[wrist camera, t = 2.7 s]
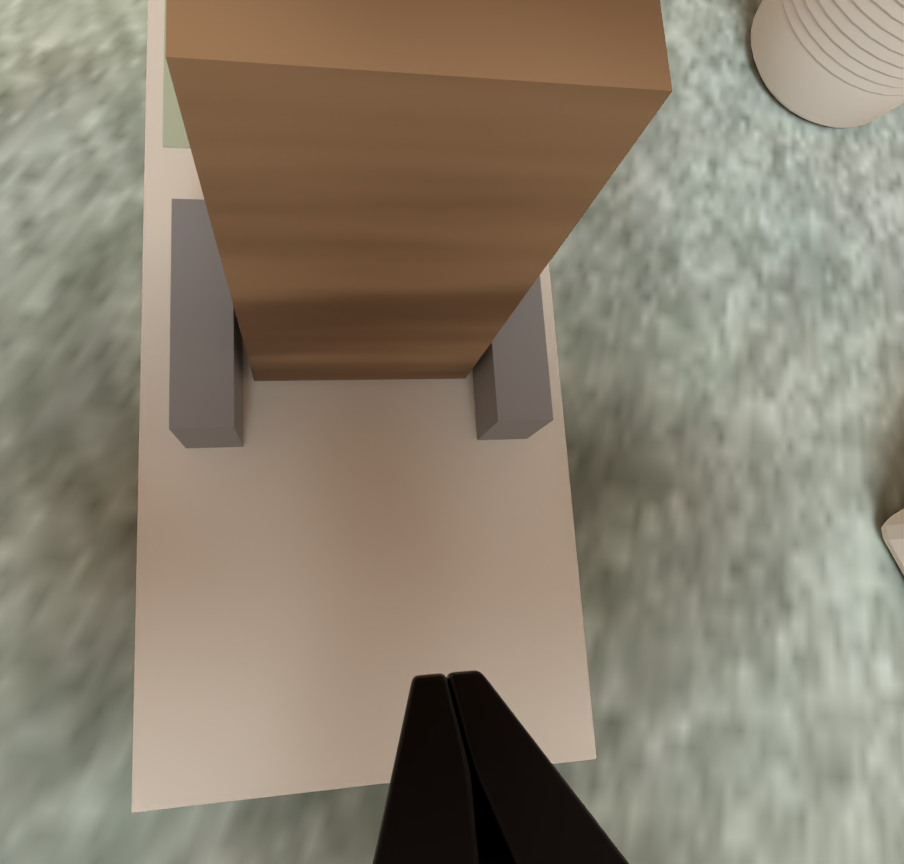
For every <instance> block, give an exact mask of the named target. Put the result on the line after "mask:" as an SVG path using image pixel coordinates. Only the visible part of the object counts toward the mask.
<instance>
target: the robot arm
mask: <svg viewBox="0 0 904 864" xmlns="http://www.w3.org/2000/svg"><path fill="white" fill-rule="evenodd" d="M373 864H629V863H628V862H627V860H626V859H625V858H624V856H623V855H622V854H621V853H620V851H619V850H618V849H617V847H616V846H615V845H614V843H613V842H612V841H611V840H610V838H609V837H608V836H607V834H606V833H605V832H604V830H603V829H602V828H601V827H600V825H599V824H598V823H597V821H596V820H595V819H594V817H593V816H592V815H591V814H590V812H589V811H588V810H587V808H586V807H585V806H584V804H583V803H582V802H581V801H580V799H579V798H578V797H577V795H576V794H575V793H574V791H573V790H572V789H571V788H570V786H569V785H568V784H567V782H566V781H565V780H564V778H563V777H562V776H561V775H560V773H559V772H558V771H557V769H556V768H555V767H554V765H553V764H552V763H551V762H550V760H549V759H548V758H547V756H546V755H545V754H544V752H543V751H542V750H541V749H540V747H539V746H538V745H537V743H536V742H535V741H534V739H533V738H532V737H531V736H530V734H529V733H528V732H527V730H526V729H525V728H524V726H523V725H522V724H521V723H520V721H519V720H518V719H517V717H516V716H515V715H514V713H513V712H512V711H511V710H510V708H509V707H508V706H507V704H506V703H505V702H504V700H503V699H502V698H501V697H500V695H499V694H498V693H497V691H496V690H495V689H494V687H493V686H492V685H491V684H490V682H489V681H488V680H487V678H486V677H485V676H484V675H483V674H482V673H481V672H479V671H476V670H471V671H460V672H451V673H449V674H448V675H447V677H446V676H445V675H444V674H441V673H437V674H426V675H417V676H415V677H414V678H413V679H412V682H411V686H410V691H409V695H408V700H407V705H406V709H405V714H404V719H403V723H402V728H401V733H400V738H399V742H398V747H397V752H396V756H395V761H394V766H393V770H392V775H391V780H390V785H389V789H388V794H387V799H386V803H385V808H384V813H383V817H382V822H381V827H380V831H379V836H378V841H377V846H376V850H375V855H374V860H373Z"/></svg>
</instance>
